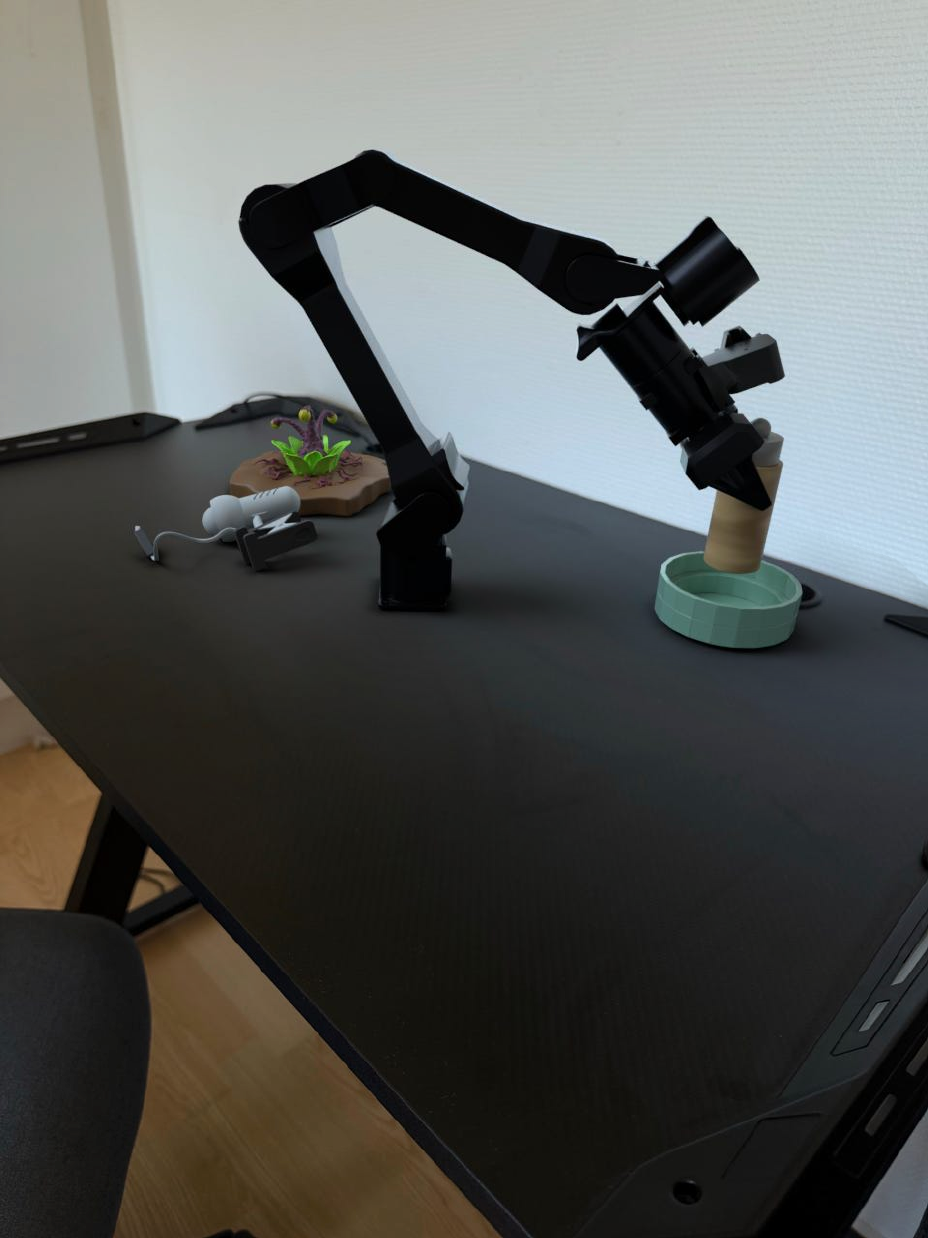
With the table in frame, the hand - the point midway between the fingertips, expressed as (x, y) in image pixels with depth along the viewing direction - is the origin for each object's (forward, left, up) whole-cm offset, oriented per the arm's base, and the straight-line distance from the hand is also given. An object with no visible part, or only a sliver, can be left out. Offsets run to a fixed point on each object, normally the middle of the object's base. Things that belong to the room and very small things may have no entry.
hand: (760, 497), depth 81 cm
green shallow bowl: (-1, 0, -13) cm, 13 cm away
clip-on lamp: (-51, +14, -13) cm, 55 cm away
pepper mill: (-1, 0, -7) cm, 7 cm away
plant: (-44, +35, -13) cm, 58 cm away
